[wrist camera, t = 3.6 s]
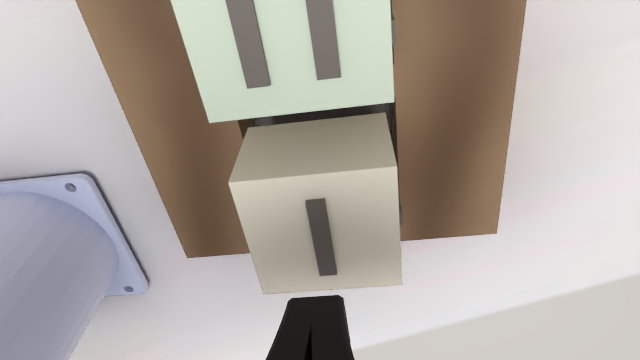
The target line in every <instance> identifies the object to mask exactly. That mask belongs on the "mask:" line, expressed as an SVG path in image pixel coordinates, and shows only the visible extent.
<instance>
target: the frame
mask: <svg viewBox="0 0 640 360" xmlns="http://www.w3.org/2000/svg"><path fill="white" fill-rule="evenodd" d="M76 3H77V5H78V7H79V10H80V12H81V14H82V17H83V19H84V21H85V24H86V26H87V28H88V30H89V33H90V35H91V37H92V40H93V42H94V44H95V47H96V49H97V51H98V53H99V56H100V58H101V60H102V63H103V65H104V67H105V70H106V72H107V74H108V76H109V79H110V81H111V83H112V86H113V88H114V90H115V93H116V95H117V97H118V100H119V102H120V104H121V106H122V109H123V111H124V113H125V116H126V118H127V120H128V123H129V125H130V127H131V129H132V132H133V134H134V136H135V139H136V141H137V143H138V146H139V148H140V150H141V152H142V155H143V157H144V159H145V162H146V164H147V166H148V169H149V171H150V173H151V176H152V178H153V180H154V182H155V185H156V187H157V189H158V192H159V194H160V196H161V199H162V201H163V203H164V205H165V208H166V210H167V212H168V215H169V217H170V219H171V222H172V224H173V226H174V228H175V231H176V233H177V235H178V238H179V240H180V242H181V245H182V247H183V249H184V252H185V254H186V256H187V258H194V257H207V256H219V255H232V254H245V253H250V250H249V247H248V244H247V241H246V238H245V234H244V231H243V228H242V225H241V222H240V219H239V215H238V212H237V209H236V206H235V203H234V200H233V196H232V193H231V190H230V187H229V184H228V182H229V179H230V176H231V173H232V171H233V168H234V165H235V162H236V159H237V157H238V154H239V151H240V148H241V146H242V143H243V140H244V137H245V134H246V132H247V129H248V128H249V127H255V124H254V120H253V118H249V119H241V120H232V121H223V122H214V123H209V120H208V117H207V114H206V111H205V108H204V104H203V101H202V98H201V95H200V92H199V89H198V85H197V82H196V79H195V76H194V73H193V70H192V66H191V63H190V60H189V57H188V54H187V51H186V47H185V44H184V41H183V38H182V35H181V32H180V28H179V25H178V22H177V19H176V16H175V13H174V9H173V6H172V3H171V0H76ZM390 8H391V12H392V14H393V16H394V19H395V32H396V44H392V55H393V79H394V102H392V103H391V124H392V145H393V149H394V154H395V159H396V163H397V175H398V193H399V198H400V203H401V208H402V222H403V225H400V241H408V240H421V239H433V238H446V237H458V236H471V235H483V234H496V233H497V227H498V219H499V211H500V204H501V196H502V188H503V180H504V172H505V164H506V157H507V149H508V141H509V133H510V125H511V118H512V110H513V102H514V94H515V86H516V79H517V71H518V63H519V55H520V47H521V40H522V32H523V24H524V16H525V8H526V0H390Z"/></svg>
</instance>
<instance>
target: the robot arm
mask: <svg viewBox="0 0 640 360" xmlns="http://www.w3.org/2000/svg"><path fill="white" fill-rule="evenodd" d="M70 183H71V184H73V185H74V186H75V187H74V186H72V185H71V184H70ZM148 286H149V285H148V282H147V280H146V278H145V276H144V274H143V272H142V271H141V269H140V267H139V265H138V263H137V261H136V259H135V257H134V255H133V254H132V252H131V250H130V248H129V246H128V244H127V242H126V240H125V239H124V237H123V235H122V233H121V231H120V229H119V227H118V225H117V223H116V222H115V220H114V218H113V216H112V214H111V212H110V210H109V208H108V206H107V205H106V203H105V201H104V199H103V197H102V195H101V193H100V191H99V190H98V188H97V186H96V184H95V182H94V180H93V179H92V178H91V177H90V176H88V175H86V174H80V173H79V174H69V175H60V176H50V177H40V178H31V179H21V180H11V181H2V182H0V360H68V359H69V358H70V356H71V354H72V352H73V351H74V349H75V347H76V345H77V343H78V342H79V340H80V338H81V336H82V334H83V333H84V331H85V329H86V327H87V326H88V324H89V322H90V320H91V318H92V317H93V315H94V313H95V311H96V309H97V308H98V306H99V304H100V302H101V301H102V299H103V297H105V296H119V295H133V294H142V293H145V292H146V291H147V288H148ZM266 360H354V357H353V353H352V349H351V346H350V337H349V331H348V324H347V318H346V312H345V306H344V299H343V298H342V297H341V296H339V295H333V296H318V297H303V298H291V299H290V300H289V301H288V303H287V307H286V310H285V313H284V316H283V318H282V321H281V324H280V327H279V329H278V332H277V334H276V337H275V339H274V342H273V344H272V347H271V349H270V351H269V353H268V356H267V358H266Z"/></svg>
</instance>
